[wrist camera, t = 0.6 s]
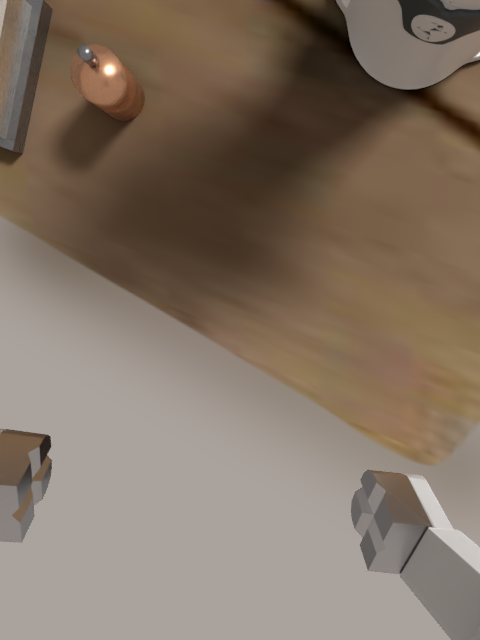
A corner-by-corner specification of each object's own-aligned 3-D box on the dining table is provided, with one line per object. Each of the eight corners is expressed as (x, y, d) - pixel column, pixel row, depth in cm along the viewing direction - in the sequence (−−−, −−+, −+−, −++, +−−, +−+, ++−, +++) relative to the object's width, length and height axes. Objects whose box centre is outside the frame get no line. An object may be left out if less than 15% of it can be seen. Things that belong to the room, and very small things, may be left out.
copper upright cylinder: (149, 114, 47) (121, 88, 38) (109, 125, 48) (71, 102, 38) (137, 68, 46) (104, 28, 37) (96, 80, 47) (53, 43, 37)
